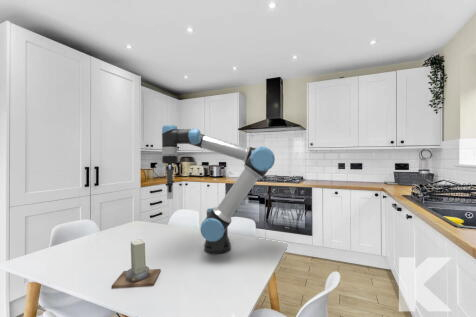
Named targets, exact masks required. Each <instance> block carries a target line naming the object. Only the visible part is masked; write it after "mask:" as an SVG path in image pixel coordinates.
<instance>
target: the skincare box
mask: <svg viewBox="0 0 476 317" xmlns="http://www.w3.org/2000/svg"><path fill="white" fill-rule="evenodd" d="M130 261H131V262H130V263H131V266H130V269H132V271H133V272H134V274H135V275H136V274H139V273H142V272H145V271H146V264H147V263H146V242H145V241H144V240H142V239H137V240H132V241H130Z"/></svg>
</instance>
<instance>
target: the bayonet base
mask: <svg viewBox="0 0 476 317" xmlns="http://www.w3.org/2000/svg"><path fill="white" fill-rule="evenodd" d="M161 269H162V268H154V269H153V268H152V269H151V268H149V266H146V271H145V272H142V273H139V274H136V275H135V274H134V272H133V271H132V269H131V268H129V269H127V270H123V272H121V274H120V275H119V276H118V277H117V278H116V280H114V282H113V283H112V285H111V290H113V289H115V290H116V289H129V288H144V287H154V286H155V284H156V281H157V280H158V279H159V275H160V274H161Z"/></svg>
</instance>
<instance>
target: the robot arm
mask: <svg viewBox="0 0 476 317" xmlns="http://www.w3.org/2000/svg"><path fill="white" fill-rule="evenodd" d="M178 145H189V146H190V145H191V146H194V147H197V148H201V149H204V150H207V151H211V152H214V153H218V154H220V155H223V156H228V157H231V158H234V159H237V160H241V161H243V163H244V165H243V167H244V169H243V170H242V172H241V173H240V175H239V176H238V178H237V179H236V180H235V182H234V183H233V185H232V186H231V187H230V189H229V190H228V192H227V193H226V194H225V196H224V197H223V199H222V200H221V202H220V203H219V204H218V205H217V207H212V208H211V207H210V208H207V209H206V217H205V219H204V220H203V221H202V222H201V224H200V234H201V236H202V237H203V239H205V242H204V244H203V251H204V252H205V253H206V254H210V255H220V254H226V253H228V252H230V251H231V248H232V245H231V242H230V238H229V236H228V231H229V229H228V227H229V226H230V225H231V223H232V217H233V215H234V214H235V212H236V211H237V210H238V208H239V207H240V206H241V204H242V203H243V201H244V200H245V198H246V197H247V196H248V194H249V193H250V191H251V189H252V188H253V187H254V185H255V184H256V183H257V182H258V180H259V179H263V178H264V177H265V176H266V175H267V173H268V172H269V170H270V169H273V166H274V164H275V161H276V158H275V154H274V152H273V151H272V150H271V149H270V148H268V147H266V146H259V147H251V146H249V147H246V146H243V145H239V144H236V143H232V142H228V141H226V140H222V139H220V138H216V137H212V136H209V135H205V134H202V133H201V131H200V129H198V128H190V129H189V128H185V129H184V128H183V129H182V128H181V129H179V128H178V126H177V125H175V124H174V125H172V124H165V125H162V128H161V154H162V157H161V158H162V160H161V162H162V164H167V165H166V166H165V171H166V172H165V173H166V177H167V178H166V183H165V186H166V200H174V183H175V180H174V179H173V177H174V176H173V175H174V171H175V166H174V165H173V164H178V151H179V149H178Z"/></svg>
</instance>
